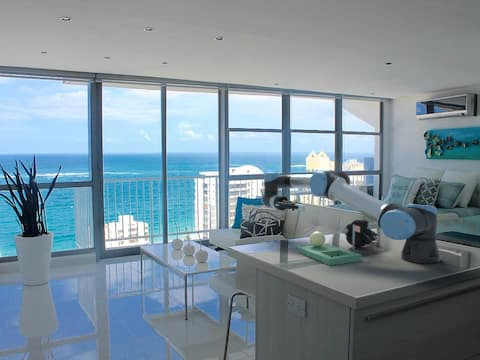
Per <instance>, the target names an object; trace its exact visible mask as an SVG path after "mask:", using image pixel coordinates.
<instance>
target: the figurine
mask: <svg viewBox="0 0 480 360" xmlns="http://www.w3.org/2000/svg"><path fill="white" fill-rule="evenodd" d="M353 225H356V226H360V232H357V231H355V248H356V249H359V248H362V247H365V246H368V245H371V244H372V242H377V241H378V240H381V238H380V237H378V233H376V232H375V231H374V230H372V229H370V226H369V221H368V220H364V219H363V220H362V219H355V220H353V221H352V222H351V223H349V224H347V225H346V226H345V227H342V228H341V232H340V233H342V234H343V235H345V240H346V241H347V243H348V244H350V245H351V246H353Z"/></svg>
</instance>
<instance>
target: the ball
mask: <svg viewBox="0 0 480 360" xmlns="http://www.w3.org/2000/svg"><path fill="white" fill-rule="evenodd" d="M309 242H310V244H311V245H313V246H315V247H320V246H322V245H323V244H326V236H325V234H324V233H323V232H321V231H318V230H317V231H313V232H312V233H311V234H310V236H309Z"/></svg>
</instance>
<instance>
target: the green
mask: <svg viewBox="0 0 480 360" xmlns="http://www.w3.org/2000/svg"><path fill="white" fill-rule="evenodd" d="M298 252H299V254H301V253H302V254H301V255H303V254H305V255H307V256H306V257H308V256H310V257H312V258H311V259H313V258H314V259H313V260H315V259H317V260H319V261H318V262H320V261H321V262H320V263H322V262H323V264H325V265H327V264H328V266H333V265H334V266H335V264H336V265H340V264H341V265H342V264H350V263H357V262H358V263H359V262H362V259H363V258H362V254H360V253H357V252H355V253H354V252H353V251H351V250H347V249H344V248H342V247H339V246H336V245H333V244H330V243H324V244H323V245H322V246H320V247H315V246H313V245H312V244H311V245H303V246H298V247H297V253H298ZM305 255H304V256H305ZM337 255H339V256H337ZM331 256H333V257H331ZM310 257H309V258H310ZM317 260H316V261H317Z"/></svg>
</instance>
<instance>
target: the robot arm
mask: <svg viewBox="0 0 480 360" xmlns="http://www.w3.org/2000/svg"><path fill="white" fill-rule="evenodd" d="M263 185H264V191H263V193H264V194H263V195H262V196H261V200H260V201H261V204H262V205H264V207H267V208H271V209H275V210H276V211H285V210H291V211H292V212H293V211H295V210H297V211H300V212H305V210H306V209H305V204H302V203H301V202H299V201H298V200H294V201H292V200H290V199H288V197H286V196H284V195H281V194H278V193H279V190H280V189H307V190H310V192H311V193H312V194H313V196H316V197H324V198H326V199H328V200H329V201H331V202H336V201H339V202H340V203H342V204H344V205H345V206H347V207H350V208H351V209H353V210H354V211H357V212H358V213H360V214H362V215H363V216H366V217H367V218H369V219H371V220H373V221H374V222H376V223H377V226H378V227H379V229H380V230H382V233H383V234H384V235H385V236H386V237H387V238H389V239H391V240H395V241H404V244H403V247H402V249H401V253H400V255H401V256H400V257H401V259H402V260H405V261H407V262H412V263H416V264H417V263H418V264H437V263H440V262H441V258H442V257H441V253H440V249H439V247H438V243H437V228H438V227H437V221H438V213H437V211H438V210H437V207H436V206H434V205H426V204H425V205H424V204H415V203H407V204H406V206H405V207H403V206H400V205H398V204H396V203H395V202H390V203H386V202H384V201H382V200H380V199H379V198H376V197H375V196H372V195H370V194H369V193H366V192H364V191H362V190H360V189H359V188H356V187H354V186H353V185H351V179H350V176H349V175H348V174H347V173H346V172H345V171H343V170H319V171H315V172H314V173H313V174H293V173H292V174H283V175H282V174H279V172H276V171H266V172H265V173H264V179H263Z"/></svg>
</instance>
